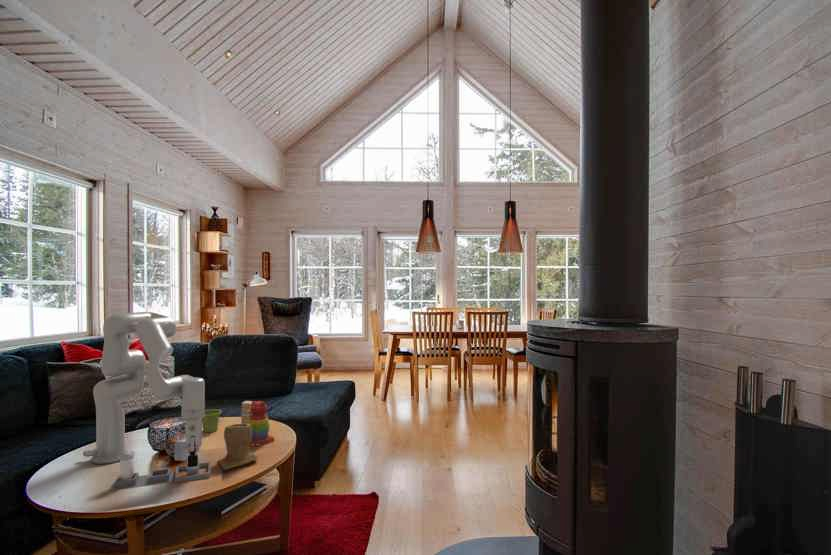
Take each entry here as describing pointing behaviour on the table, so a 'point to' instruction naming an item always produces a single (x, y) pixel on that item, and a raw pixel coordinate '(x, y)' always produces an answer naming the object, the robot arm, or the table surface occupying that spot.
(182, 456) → the medicine box
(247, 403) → the supplement box
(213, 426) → the plant pot
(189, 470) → the marked fuse
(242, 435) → the brown piece
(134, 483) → the fuse block
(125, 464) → the plain fuse
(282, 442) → the table surface
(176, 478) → the tray
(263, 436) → the stacking bear
